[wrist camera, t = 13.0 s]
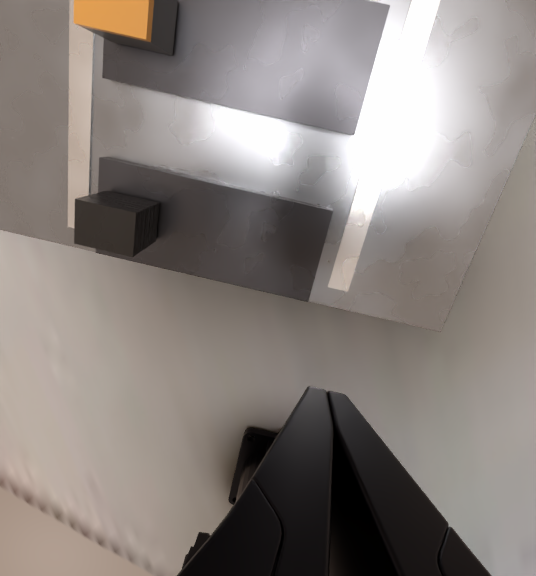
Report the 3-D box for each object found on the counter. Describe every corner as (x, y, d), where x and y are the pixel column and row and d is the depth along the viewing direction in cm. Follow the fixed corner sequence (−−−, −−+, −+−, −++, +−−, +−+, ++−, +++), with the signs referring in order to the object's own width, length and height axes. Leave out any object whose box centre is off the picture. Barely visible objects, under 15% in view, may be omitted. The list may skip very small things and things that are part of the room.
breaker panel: (431, 318, 20) (468, 372, 16) (-6, 217, 20) (-97, 240, 16) (651, -205, 13) (850, -402, 8) (-44, -357, 13) (-240, -632, 8)
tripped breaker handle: (172, 55, 15) (146, 39, 12) (111, 41, 15) (73, 23, 12) (177, 0, 14) (151, -29, 12) (114, -15, 14) (74, -47, 12)
